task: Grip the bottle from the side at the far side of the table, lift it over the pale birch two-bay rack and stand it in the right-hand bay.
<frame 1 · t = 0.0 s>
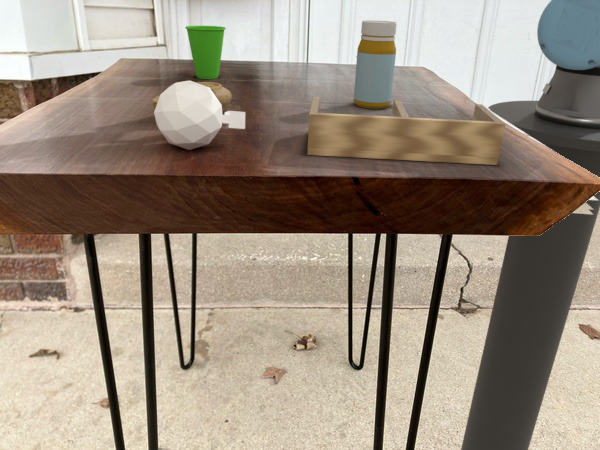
perfume bottle: (201, 148, 72), on the table
bottle: (371, 106, 101), on the table
cup: (207, 78, 123), on the table
rack: (396, 147, 75), on the table
oil lamp: (196, 118, 88), on the table
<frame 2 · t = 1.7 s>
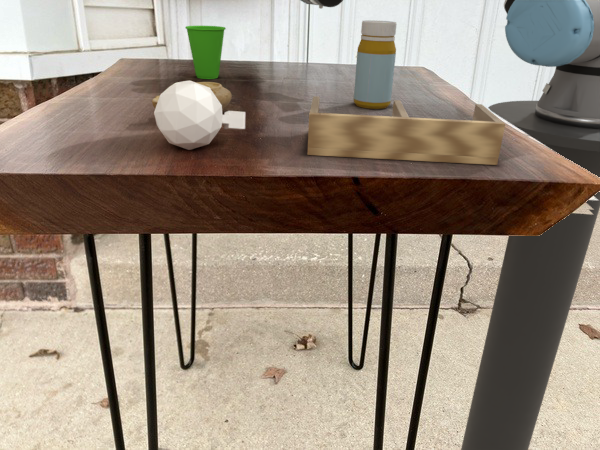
nothing on the table moved.
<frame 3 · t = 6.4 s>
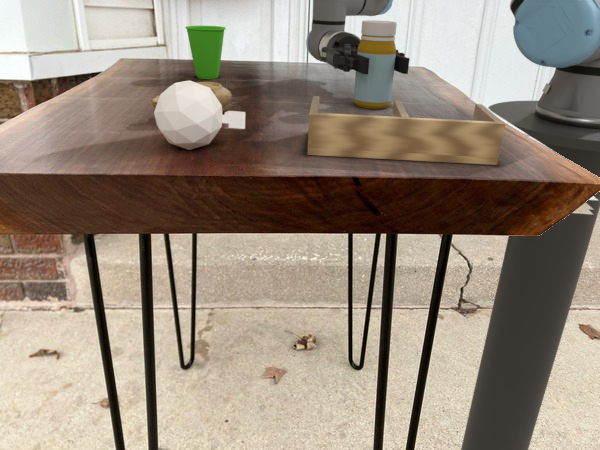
hand: (386, 66, 93), 8 cm above the table, tool horizontal, fingers closed on bottle, 7 cm apart
bottle: (371, 106, 101), on the table, touching gripper
everything else where it was.
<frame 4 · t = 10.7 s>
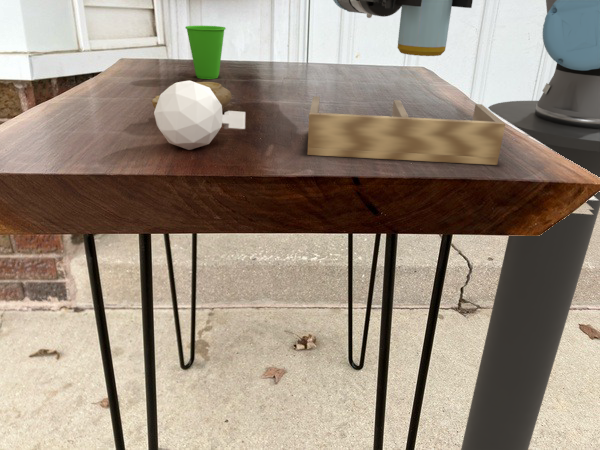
bottle: (420, 54, 79), point 12 cm above the table, touching gripper
everything else where it was.
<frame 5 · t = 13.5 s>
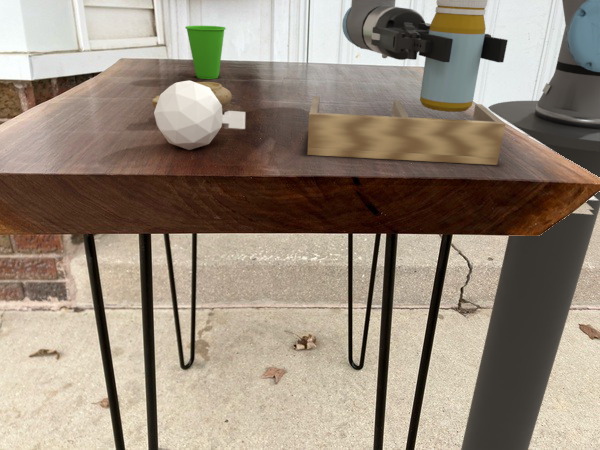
hand: (475, 50, 65), 14 cm above the table, tool horizontal, fingers closed on bottle, 7 cm apart
bottle: (444, 108, 73), point 6 cm above the table, touching gripper
everything else where it was.
when the fingers open (9 cm above the table, at t = 15.3 s): bottle stays where it is, resting on rack.
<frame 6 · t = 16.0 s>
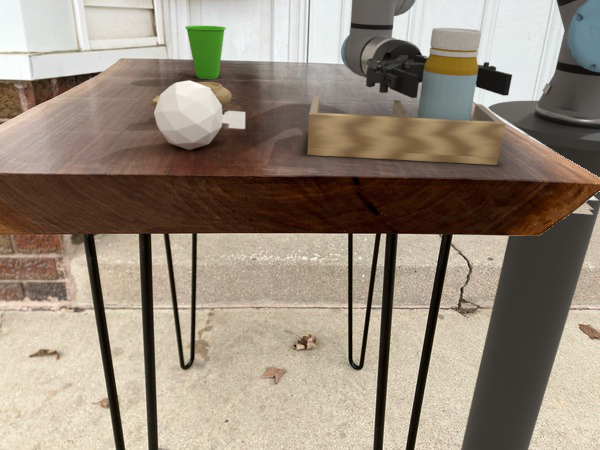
hand: (463, 86, 68), 9 cm above the table, tool horizontal, fingers open, 13 cm apart
bottle: (439, 143, 75), point 1 cm above the table, touching rack
everything else where it was.
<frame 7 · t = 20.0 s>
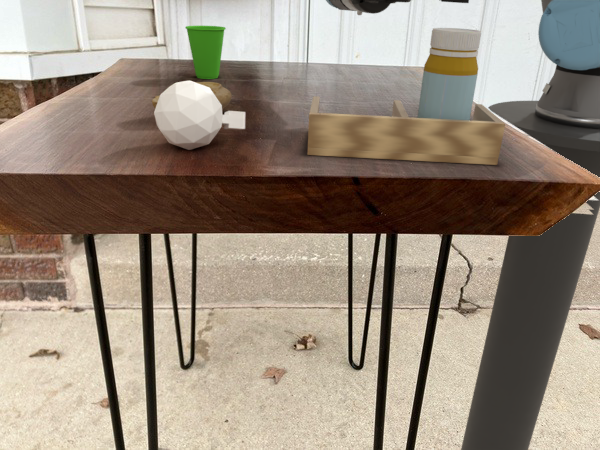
nothing on the table moved.
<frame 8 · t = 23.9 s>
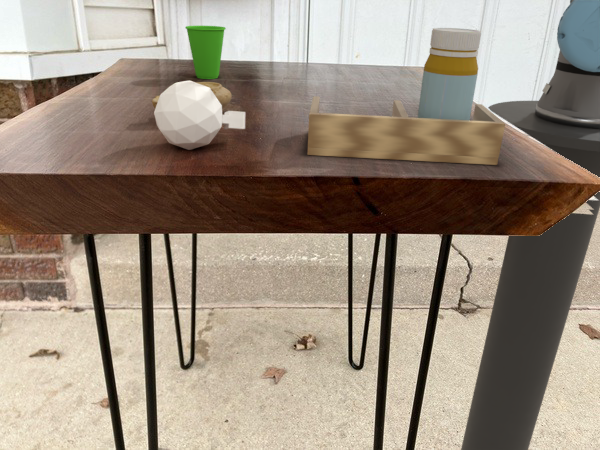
nothing on the table moved.
at the end: bottle inside the target area on the rack (0.1 cm from its centre), point 0.8 cm above the rack's base; bottle tilted 0°; the gripper is holding nothing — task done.
